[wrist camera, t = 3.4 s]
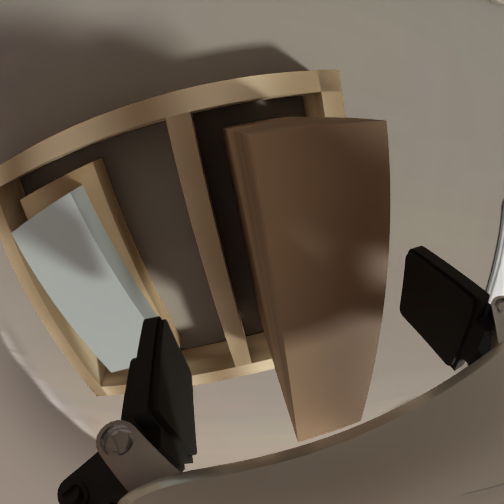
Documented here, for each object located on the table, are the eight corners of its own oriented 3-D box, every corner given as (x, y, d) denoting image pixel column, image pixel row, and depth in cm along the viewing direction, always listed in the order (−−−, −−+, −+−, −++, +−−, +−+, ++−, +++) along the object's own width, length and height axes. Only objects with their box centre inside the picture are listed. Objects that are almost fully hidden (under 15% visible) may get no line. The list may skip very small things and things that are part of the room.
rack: (102, 371, 18) (96, 396, 16) (5, 168, 11) (-20, 178, 9) (336, 322, 20) (350, 345, 17) (317, 76, 12) (338, 69, 10)
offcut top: (115, 355, 16) (111, 372, 15) (25, 222, 12) (11, 233, 10) (172, 337, 16) (171, 355, 15) (82, 184, 12) (70, 192, 10)
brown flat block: (260, 320, 18) (297, 441, 10) (220, 127, 13) (249, 135, 5) (304, 309, 19) (360, 420, 11) (280, 117, 13) (386, 120, 5)
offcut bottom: (118, 345, 18) (113, 365, 16) (37, 190, 13) (19, 200, 11) (180, 330, 18) (179, 351, 17) (105, 156, 13) (92, 161, 11)
